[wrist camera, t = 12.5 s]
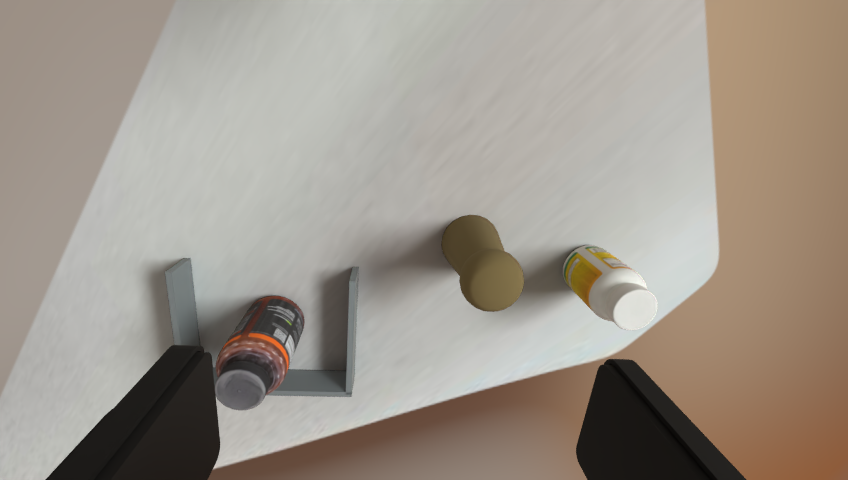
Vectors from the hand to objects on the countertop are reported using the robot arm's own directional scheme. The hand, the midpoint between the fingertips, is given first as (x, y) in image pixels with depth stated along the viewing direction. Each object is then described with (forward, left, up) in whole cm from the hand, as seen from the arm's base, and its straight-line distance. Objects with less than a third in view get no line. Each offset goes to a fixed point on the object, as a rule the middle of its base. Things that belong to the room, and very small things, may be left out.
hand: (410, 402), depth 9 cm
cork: (+6, +8, -31) cm, 32 cm away
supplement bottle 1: (+16, -12, -31) cm, 36 cm away
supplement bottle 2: (+8, +21, -31) cm, 38 cm away
